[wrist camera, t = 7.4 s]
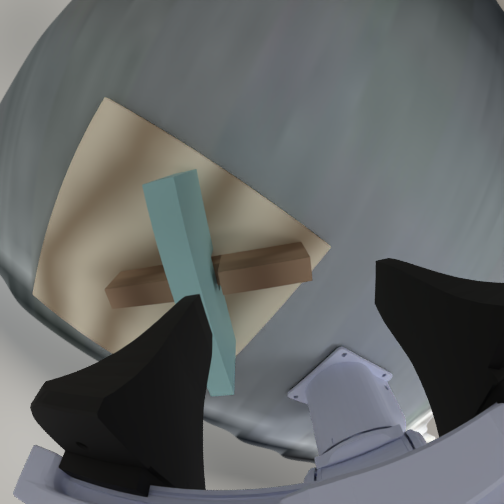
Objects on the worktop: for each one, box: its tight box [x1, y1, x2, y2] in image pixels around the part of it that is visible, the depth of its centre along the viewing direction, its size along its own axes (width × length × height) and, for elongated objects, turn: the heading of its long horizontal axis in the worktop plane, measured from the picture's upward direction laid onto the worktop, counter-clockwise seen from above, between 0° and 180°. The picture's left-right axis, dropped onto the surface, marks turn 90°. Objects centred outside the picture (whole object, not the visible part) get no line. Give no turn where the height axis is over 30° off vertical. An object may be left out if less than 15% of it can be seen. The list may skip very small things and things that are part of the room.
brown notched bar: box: [104, 242, 312, 309], centre depth 18 cm, size 14×2×3 cm, turn 100°
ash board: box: [33, 97, 331, 357], centre depth 20 cm, size 20×20×1 cm
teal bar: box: [142, 169, 236, 396], centre depth 17 cm, size 14×2×6 cm, turn 10°
